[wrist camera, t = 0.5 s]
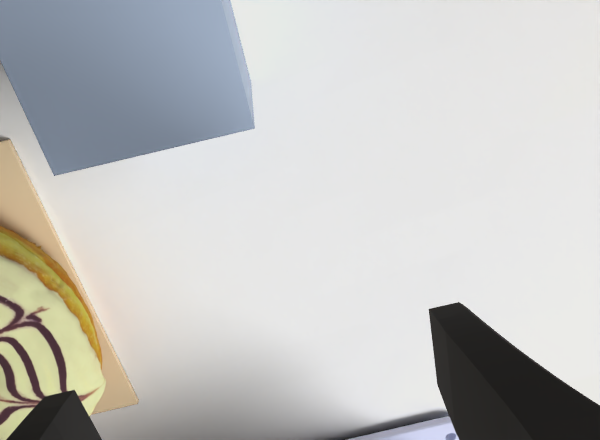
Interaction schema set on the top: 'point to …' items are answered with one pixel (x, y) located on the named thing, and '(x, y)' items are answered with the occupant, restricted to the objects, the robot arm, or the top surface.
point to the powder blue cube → (124, 75)
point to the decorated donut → (42, 334)
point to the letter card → (38, 229)
